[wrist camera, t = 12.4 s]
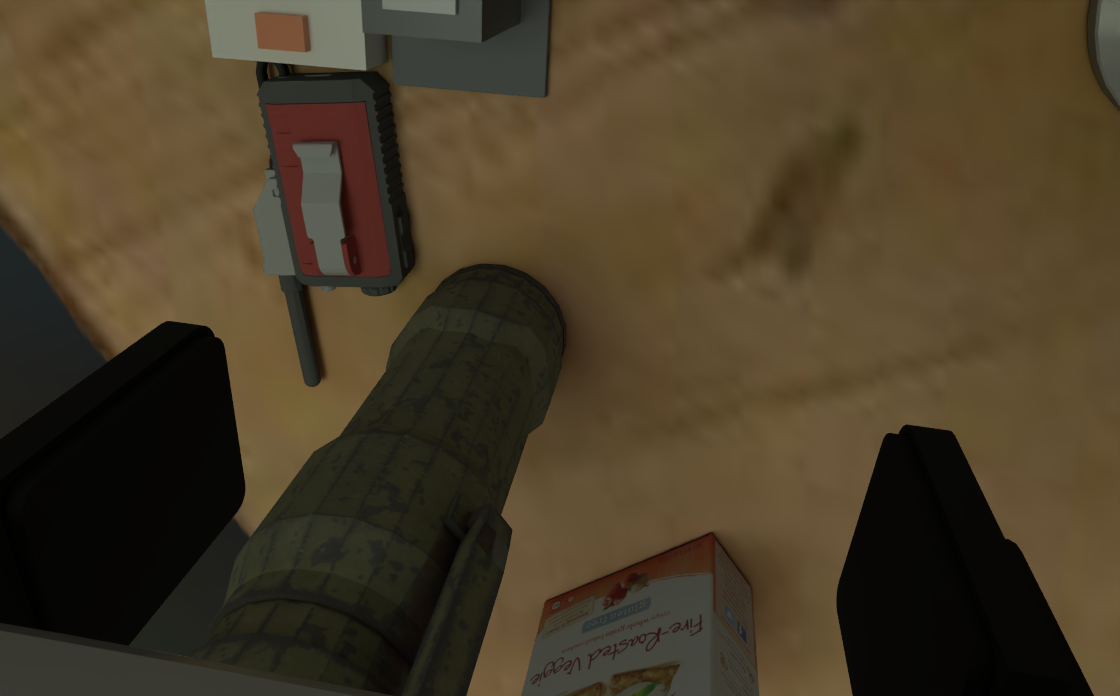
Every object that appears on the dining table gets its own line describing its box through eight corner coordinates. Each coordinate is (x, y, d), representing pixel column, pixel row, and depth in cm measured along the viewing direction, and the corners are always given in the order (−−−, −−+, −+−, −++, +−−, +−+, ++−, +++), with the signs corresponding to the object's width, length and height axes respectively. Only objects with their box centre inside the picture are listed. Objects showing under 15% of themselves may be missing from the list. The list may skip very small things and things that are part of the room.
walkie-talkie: (235, 51, 43) (306, 375, 52) (190, 63, 39) (275, 410, 49) (390, 46, 42) (436, 379, 51) (359, 58, 38) (414, 416, 47)
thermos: (376, 321, 49) (-161, 969, 18) (527, 220, 45) (149, 855, 14) (465, 427, 52) (124, 1148, 21) (616, 341, 47) (462, 1101, 17)
